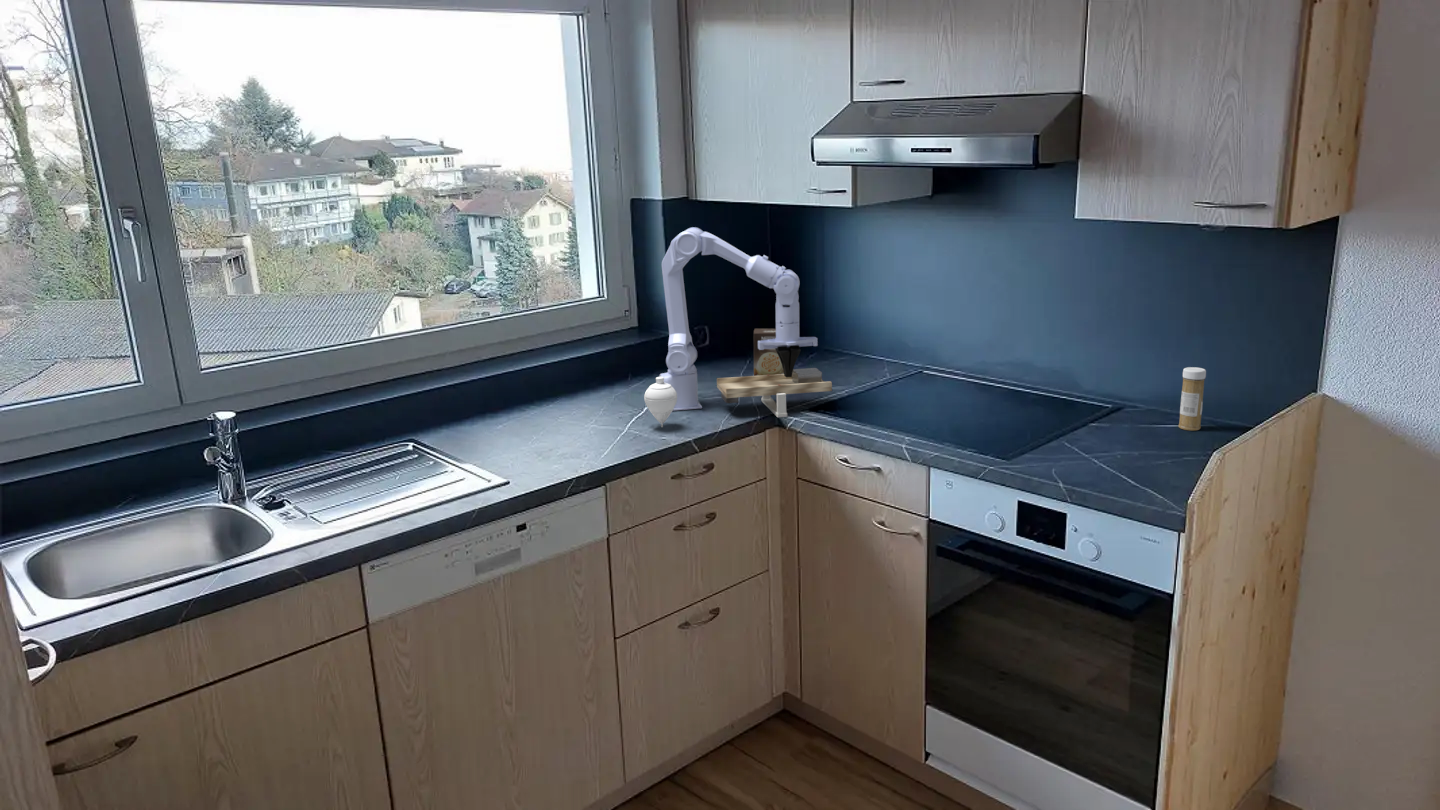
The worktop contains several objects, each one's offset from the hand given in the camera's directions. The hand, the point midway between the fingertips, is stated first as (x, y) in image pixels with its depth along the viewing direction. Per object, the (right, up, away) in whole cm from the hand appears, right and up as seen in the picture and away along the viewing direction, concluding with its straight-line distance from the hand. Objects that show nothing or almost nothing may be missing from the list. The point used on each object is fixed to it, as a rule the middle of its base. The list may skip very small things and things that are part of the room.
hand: (788, 376), depth 248 cm
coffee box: (-3, -3, +19) cm, 20 cm away
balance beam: (-4, -5, 0) cm, 6 cm away
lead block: (+5, -1, +1) cm, 5 cm away
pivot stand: (-3, -8, +1) cm, 9 cm away
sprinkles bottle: (+87, -12, -25) cm, 91 cm away
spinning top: (-30, -12, -12) cm, 35 cm away
